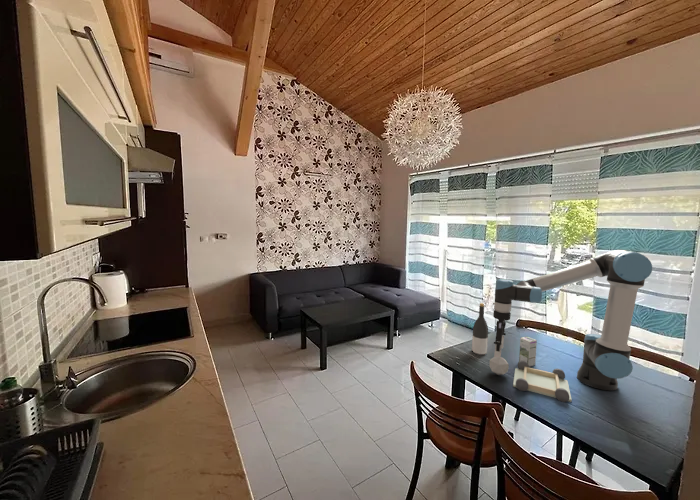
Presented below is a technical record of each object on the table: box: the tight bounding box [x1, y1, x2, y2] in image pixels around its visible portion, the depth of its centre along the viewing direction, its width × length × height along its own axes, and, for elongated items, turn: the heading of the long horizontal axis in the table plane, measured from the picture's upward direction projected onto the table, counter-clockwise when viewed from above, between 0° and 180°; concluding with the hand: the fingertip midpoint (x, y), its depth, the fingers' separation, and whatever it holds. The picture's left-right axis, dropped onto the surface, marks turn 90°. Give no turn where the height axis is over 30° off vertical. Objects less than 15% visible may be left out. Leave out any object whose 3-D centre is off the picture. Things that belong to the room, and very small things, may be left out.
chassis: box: [512, 361, 573, 403], centre depth 141 cm, size 22×23×5 cm
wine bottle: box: [471, 302, 489, 356], centre depth 172 cm, size 8×8×30 cm
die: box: [489, 356, 510, 376], centre depth 149 cm, size 8×9×10 cm
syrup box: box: [518, 336, 538, 367], centre depth 161 cm, size 6×6×14 cm
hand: (498, 352), depth 149 cm, fingers open, 13 cm apart
